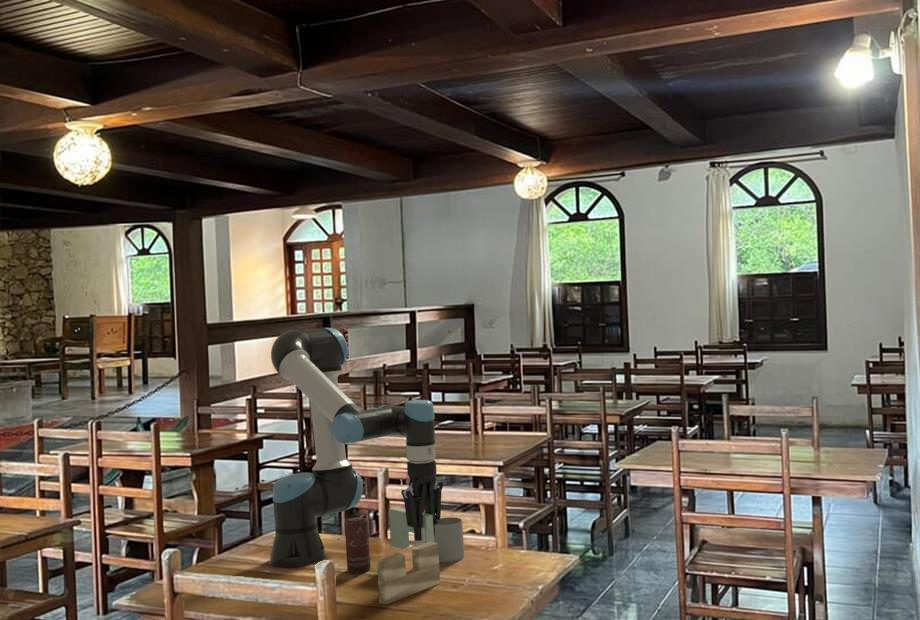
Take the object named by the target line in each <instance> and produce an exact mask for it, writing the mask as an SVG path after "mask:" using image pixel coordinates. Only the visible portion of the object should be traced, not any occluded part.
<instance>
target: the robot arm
mask: <svg viewBox="0 0 920 620" xmlns="http://www.w3.org/2000/svg"><path fill="white" fill-rule="evenodd" d="M348 356H349V349H348V344H347V341H346V338H345V337H344V335H343V334H342V333H341V331H339V330H338V329H336V328H334V327H316V328H314V327H313V328H304V329H291V330H287V331H285V332H283V333H281V334H280V335H279V336H278V337H277V338H276V339H275V341H274V342H273V344H272V346H271V351H270V358H271V363H272V366H273V368H274V369H275V371H276V372H277V374H279V376H280V377H281V378H282V379H284V380H289V381H291V382H292V383H293V384H294V385H295V386H296V388H298V389H299V390H300V391H301V392H302V393H303V395H304V396H306V397H307V398H308V400H310V410H311V411H310V412H311V421H312V429H313V439H314V448H315V449H314V451H315V456H316V457H315V458H316V460H315V461H316V463H315V464H314V466H313V467H312V468H311V470H312V472H307V471H306V472H304V471H303V472H298V473H292V474H288V475H285V476H283V477H280V478H279V479H277V480H276V481H275V482H274V484H273V487H272V502H273V503H272V504H273V514H274V515H273V517H274V531H275V532H274V533H275V535H274V539H273V544H272V548H271V552H270V554H269V555H270V564H271V565H273V566H276V567H279V568H280V567H281V568H296V567H304V566H309V565H314V564H316V563H319V562H321V561H322V560H324V559H325V557H326V549H325V546H324V544H323V541H322V537H321V535H320V533H319V530H318V521H317V520H318V519H317V518H320V517H323V516H327V515H331V514H335V513H338V512H339V513H340V512H345V511H347V510H350V509H352V508H354V507H356V506H357V505H358V504H359V502H360V500H361V498H362V495H363V488H364V487H363V479H362V476H360V472H359V471H358V470H357V469H355V468H353V463H352V462H351V461H350V460H349V459H347V457H346V447H345V445H346V444H354V443H355V444H356V443H358V442H364V441H368V440H372V439H373V440H374V439H379V438H384V437H388V436H394V435H395V436H396V435H397V436H403V437H404V436H405V444H406V445H405V446H406V460H407V462H406V463H407V464H406V467H407V468H406V470H407V477H408V479H409V481H408V487H407V488H406V489H401V493H400V494H401V496H402V498H403V503H404V509H405V511H406V519H407V525H408V526H410V527H413V528H414V533H413V538H414V539H415V540H416V547H417V546H420V545H423V544H425V528H423V527H422V520H423V513H427V514H432V515H433V536H435V525H437V523H438V521H437V520H440V518H442V517H441V516H442V515H441V511H442V491H443V487H444V482H443V481H438V480H437V478H436V475H437V461H436V460H435V459H436V457H437V454H436V433H435V432H436V431H435V429H436V427H435V419H436V416H435V409H434V408H435V407H434V403H433V402H432V401H431V400H428V399H414V400H408V401H406V402H405V404H404V406H400V405H394V404H387V405H386V404H382V405H380V406H378V407H377V408H373V409H367V410H366V409H365V410H362V409H361V408H360V407H359V406H358V405H356V404H355V402H353V401H352V400H351V399H350V398H349V397H348V396H347V394H345V392H343V391H342V390H341V389H340V388H339V382H338V377H339V376H340V374H341V373H342V371H343V369H342V366H343V365H344V364H345V363H346V362H347V360H348ZM414 539H413V540H414ZM318 561H319V562H318Z"/></svg>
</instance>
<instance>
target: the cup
mask: <svg viewBox="0 0 920 620" xmlns="http://www.w3.org/2000/svg"><path fill="white" fill-rule="evenodd" d="M437 521H438V523H437V525H435V536H434V542H435V543H438V554H439V563H452V562H453V563H454V562H458V561H461V560H463V559H464V558H465V546H464V545H465V544H464V528H463V524H464V523H463V519H462V518H460V517H451V516H450V517H440V520H437Z"/></svg>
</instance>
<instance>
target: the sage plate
mask: <svg viewBox="0 0 920 620" xmlns="http://www.w3.org/2000/svg"><path fill="white" fill-rule="evenodd" d="M388 512H389V513H388V516H389V518H388V519H389V537H390V538H389V539H390V546H391V547H393V548H397V549H402V550H404V549H407V548H410V533H413V534H414V528H413V527H410V526H408V525H407V519H406V511H405V508H402V507H398V506H394V507H390V508H389V509H388ZM422 527H423V528H425V544H426V543H429V542H434V536H433V515H432V514H427V513H425V512H423V520H422ZM413 540H414V547H416V540H415V539H413Z"/></svg>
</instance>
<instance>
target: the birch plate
mask: <svg viewBox="0 0 920 620" xmlns="http://www.w3.org/2000/svg"><path fill="white" fill-rule="evenodd" d="M411 558H412V559H411V560H412V568H411V569H409V570H407V569H406V554H403V553H401V552H400V553H399V552H397V553H394V554H391V555H388V556H385V557H382V558H380V559H377V560H376V564H377V565H376V566H377V567H376V568H377V582H378V599H379V603H380V604H383V605H389V604H391V603H395V602H397V601H399V600H402V599H405V598H407V597H409V596H411V595H414V594H416V593H419V592H422V591H425V590H427V589H430V588H431V587H434V586H438V585H439V584H441V573H440V562H439V554H438V543H435V542H429V543H426V544H423V545H420V546H417V547H415V546H414V547H412V548H411Z"/></svg>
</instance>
